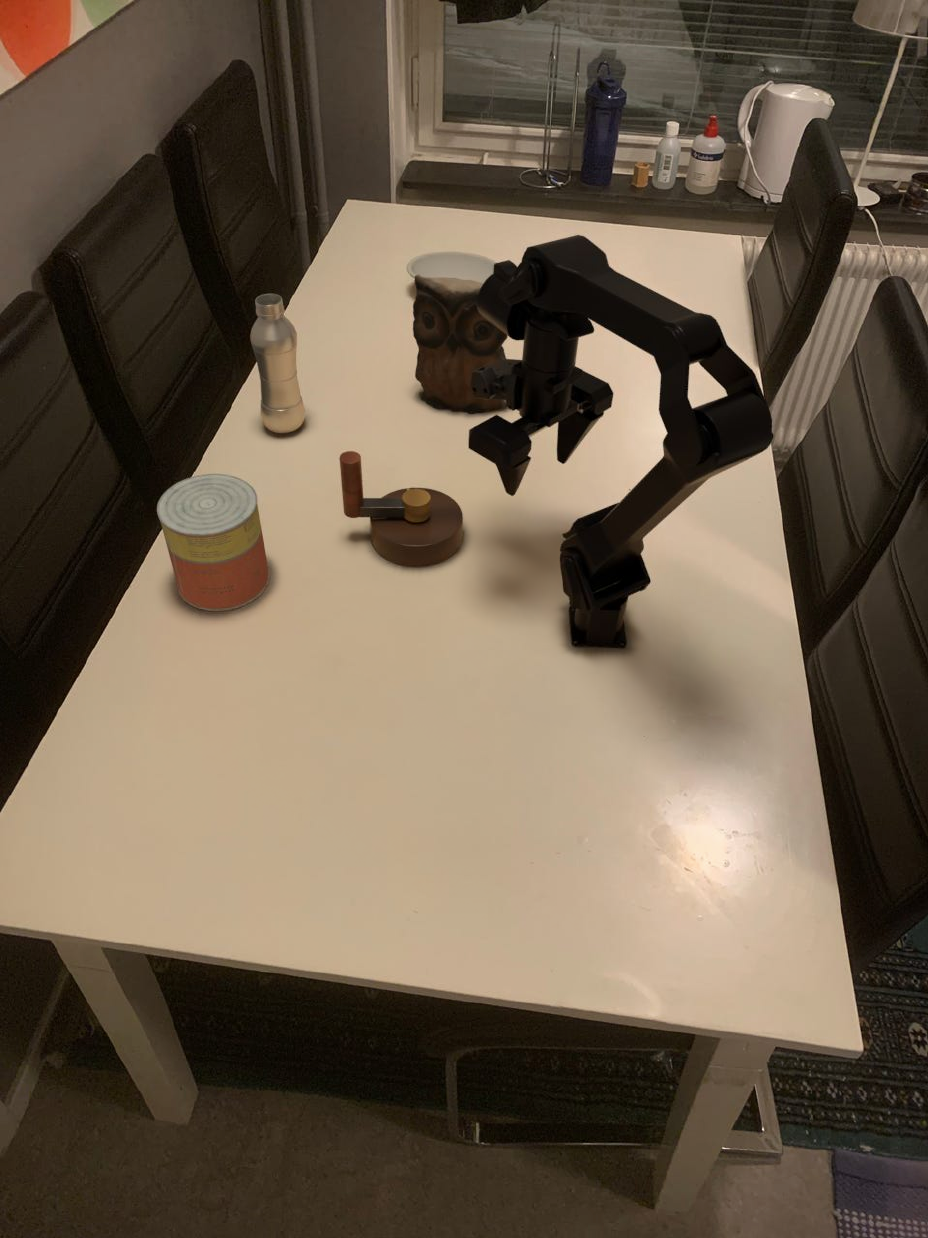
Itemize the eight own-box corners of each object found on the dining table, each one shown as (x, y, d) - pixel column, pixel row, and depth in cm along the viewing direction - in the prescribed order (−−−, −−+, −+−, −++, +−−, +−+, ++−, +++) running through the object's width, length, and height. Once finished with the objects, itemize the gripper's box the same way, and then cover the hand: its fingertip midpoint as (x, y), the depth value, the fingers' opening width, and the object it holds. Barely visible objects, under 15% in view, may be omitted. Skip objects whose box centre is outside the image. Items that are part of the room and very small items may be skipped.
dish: (400, 308, 165) (399, 281, 161) (414, 273, 175) (413, 247, 171) (496, 317, 163) (498, 290, 160) (505, 281, 173) (507, 255, 170)
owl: (511, 410, 142) (521, 287, 128) (438, 428, 138) (439, 303, 124) (475, 371, 150) (480, 251, 136) (404, 387, 146) (402, 265, 132)
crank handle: (430, 505, 119) (430, 448, 113) (430, 522, 116) (430, 466, 110) (344, 504, 119) (340, 448, 112) (343, 522, 116) (338, 465, 110)
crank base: (460, 568, 116) (461, 547, 114) (366, 565, 116) (365, 543, 114) (463, 509, 125) (464, 488, 122) (375, 506, 125) (374, 484, 122)
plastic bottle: (253, 431, 136) (233, 304, 122) (280, 409, 141) (264, 284, 126) (289, 443, 134) (273, 315, 120) (315, 421, 139) (302, 295, 124)
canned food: (284, 559, 116) (273, 483, 108) (246, 619, 109) (230, 543, 100) (203, 542, 118) (186, 466, 110) (160, 600, 111) (138, 523, 102)
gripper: (549, 304, 106) (537, 419, 117) (433, 360, 96) (432, 480, 108) (625, 340, 101) (605, 457, 112) (511, 403, 91) (502, 524, 102)
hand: (536, 477), depth 109 cm, fingers open, 9 cm apart
